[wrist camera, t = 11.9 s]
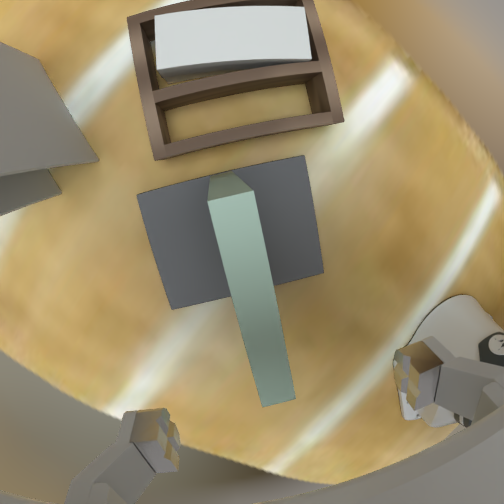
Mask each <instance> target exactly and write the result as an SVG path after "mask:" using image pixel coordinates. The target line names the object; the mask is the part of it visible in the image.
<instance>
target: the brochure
mask: <svg viewBox="0 0 504 504" xmlns="http://www.w3.org/2000/svg"><path fill="white" fill-rule="evenodd" d="M98 161H99V159H98V157H97V156H96V154H95V153H94V151H93V150H92V148H91V146H90V145H89V143H88V142H87V140H86V139H85V137H84V135H83V134H82V132H81V131H80V129H79V127H78V126H77V124H76V123H75V121H74V119H73V118H72V116H71V114H70V113H69V111H68V109H67V108H66V106H65V104H64V103H63V101H62V99H61V98H60V96H59V94H58V93H57V91H56V89H55V88H54V86H53V84H52V82H51V81H50V79H49V77H48V75H47V74H46V72H45V70H44V68H43V66H42V65H41V63H40V61H39V59H37V58H35V57H32V56H30V55H28V54H26V53H24V52H22V51H19V50H17V49H15V48H13V47H10V46H8V45H6V44H4V43H1V42H0V216H2V215H5V214H7V213H10V212H12V211H15V210H18V209H20V208H23V207H26V206H28V205H31V204H34V203H37V202H40V201H43V200H45V199H48V198H51V197H54V196H57V195H60V194H61V193H62V192H61V190H60V189H59V187H58V186H57V184H56V182H55V181H54V179H53V178H52V176H51V174H50V173H49V171H48V170H47V168H53V167H60V166H68V165H76V164H84V163H92V162H98Z"/></svg>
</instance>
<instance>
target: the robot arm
mask: <svg viewBox="0 0 504 504" xmlns="http://www.w3.org/2000/svg"><path fill="white" fill-rule="evenodd" d="M393 365H394V379H395V383H396V385H397V387H398V393H399V399H400V406H401V412H402V417H403V418H404V419H405V420H415V419H419V418H422V419H423V420H424V421H425V422H426V423H427V424H428V425H429V426H431V427H442V426H445V425H449V424H453V423H457V422H458V423H460V424H461V425H463V426H465V427H466V429H464V430H462V431H460V432H458V433H456V434H454V435H453V436H451V437H449V438H447V439H445V440H443V441H441V442H439V443H437V444H435V445H433V446H431V447H429V448H427V449H425V450H423V451H421V452H419V453H417V454H415V455H412V456H410V457H408V458H406V459H403V460H401V461H399V462H396V463H394V464H392V465H389V466H387V467H384V468H382V469H379V470H377V471H374V472H371V473H368V474H366V475H363V476H360V477H357V478H354V479H351V480H348V481H345V482H342V483H339V484H336V485H332V486H329V487H326V488H322V489H318V490H315V491H311V492H307V493H303V494H299V495H295V496H290V497H286V498H281V499H276V500H271V501H266V502H260V503H254V504H504V330H503V329H502V328H501V327H500V326H499V325H498V324H497V323H496V322H495V321H494V320H493V318H492V316H491V315H489V314H488V313H487V312H485V311H484V309H483V308H482V307H481V306H480V304H479V303H478V302H477V300H476V299H475V298H473V297H472V296H469V295H458V296H455V297H452V298H450V299H448V300H446V301H445V302H443V303H442V304H440V305H439V306H438V307H436V308H435V309H434V310H433V311H432V312H431V313H430V314H429V315H428V316H427V317H426V319H425V320H424V321H423V322H422V324H421V325H420V327H419V328H418V330H417V331H416V333H415V335H414V337H413V338H412V340H411V341H410V343H409V344H408V345H407V346H406V347H403V348H400V349H398V350H396V352H395V358H394V362H393ZM179 448H180V436H179V432H178V429H177V427H176V425H175V423H173V422H171V421H170V414H169V412H168V411H167V409H166V408H157V409H147V410H138V411H126V412H125V413H124V415H123V418H122V421H121V425H120V428H119V432H118V435H117V439H116V443H115V444H111V445H110V446H109V447H108V448H107V449H106V450H104V451H103V452H102V453H101V454H100V455H99V456H98V457H97V458H96V459H95V460H94V461H92V462H91V463H90V464H89V465H88V466H87V467H86V468H84V469H83V470H82V471H81V472H80V473H79V474H78V475H77V476H76V477H74V478H73V479H72V481H71V484H70V487H69V490H68V493H67V496H66V500H65V503H64V504H135V502H136V501H137V500H138V498H139V497H140V496H141V494H142V493H143V492H144V490H145V489H146V487H147V486H148V485H149V483H150V482H151V481H152V479H153V478H154V477H155V475H156V473H163V472H174V471H178V466H179V456H178V454H177V453H176V451H177V450H178V449H179ZM0 504H57V503H51V502H46V501H40V500H36V499H32V498H27V497H23V496H19V495H15V494H11V493H8V492H5V491H1V490H0Z"/></svg>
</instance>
